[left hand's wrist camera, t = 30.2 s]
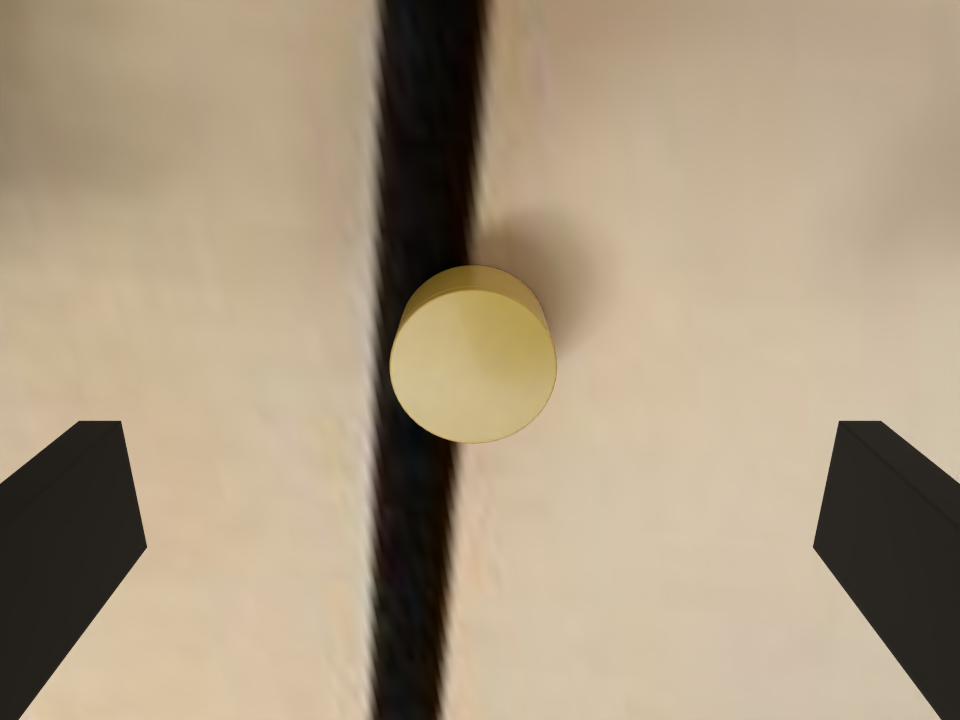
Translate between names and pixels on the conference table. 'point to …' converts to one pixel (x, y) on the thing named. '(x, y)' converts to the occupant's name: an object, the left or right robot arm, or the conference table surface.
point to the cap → (473, 355)
